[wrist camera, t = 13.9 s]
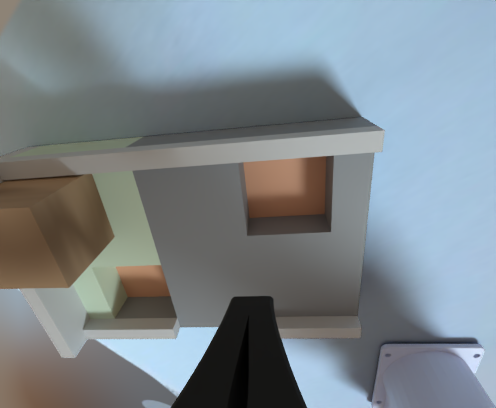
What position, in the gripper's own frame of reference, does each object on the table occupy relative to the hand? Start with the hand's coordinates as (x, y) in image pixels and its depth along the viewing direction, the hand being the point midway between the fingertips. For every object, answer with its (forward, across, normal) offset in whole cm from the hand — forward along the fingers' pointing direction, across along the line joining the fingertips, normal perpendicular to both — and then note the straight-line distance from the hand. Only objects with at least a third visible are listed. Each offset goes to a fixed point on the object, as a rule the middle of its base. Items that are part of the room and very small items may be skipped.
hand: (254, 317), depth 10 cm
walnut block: (+7, +12, -1) cm, 14 cm away
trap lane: (+10, +4, +2) cm, 11 cm away
